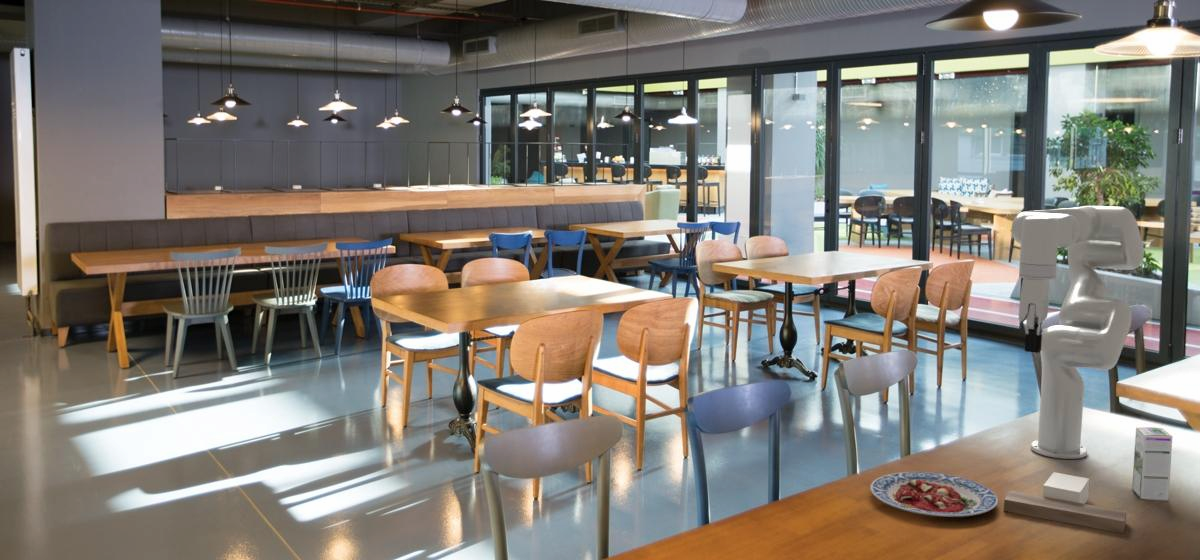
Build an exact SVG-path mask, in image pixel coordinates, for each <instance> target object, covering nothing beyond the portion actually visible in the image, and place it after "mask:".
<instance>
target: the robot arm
mask: <svg viewBox="0 0 1200 560" xmlns="http://www.w3.org/2000/svg"><path fill="white" fill-rule="evenodd" d="M1136 219H1137V218H1136V217H1135V215H1134V214H1133V212H1132V211H1131V210H1129V208H1126V207H1124V206H1109V205H1107V206H1106V205H1083V206H1082V205H1081V206H1077V207H1068V208H1066V207H1064V208H1054V209H1053V208H1052V209H1040V210H1039V209H1038V210H1028V211H1027V210H1026V211H1021V212H1020V213H1018V214H1017V215H1016V216H1015V217H1014V219H1013V220H1012V223H1011V228H1010V229H1011V235H1012V238H1013V239H1014V241H1015V242H1016V243H1018V244H1019V245H1020V250H1019V252H1020V254H1019V267H1018V268H1019V270H1018V277H1019V278H1020V279H1022V282H1021V289H1020V297H1019V298H1020V299H1019V300H1020V301H1019V308H1018V310H1019V311H1018V321H1019V322H1020V323H1022V322H1024V321H1025V320H1026V322H1025V324H1026V325H1025V326H1026V327H1025V338H1024V339H1025V340H1024V341H1025V342H1024V352H1026V353H1037V354H1038V353H1040V361H1041V382H1040V383H1041V385H1040V400H1039V401H1040V402H1039V417H1038V418H1039V419H1038V420H1039V421H1038V433H1037V434H1038V435H1037V439H1036V440H1033V441H1032V442H1031V443H1030V449H1031V450H1032V451H1033V452H1034V453H1036V454H1038V455H1042V456H1045V457H1049V458H1054V459H1061V460H1063V459H1064V460H1077V459H1082V458H1084V457H1086V456H1087V455H1088V450H1087V448H1086V447H1085V446H1083V445H1081V440H1082V439H1081V437H1082V425H1083V423H1082V422H1083V413H1084V412H1083V411H1084V410H1083V409H1084V394H1085V382H1084V379H1083V377H1082V375H1081V373H1080V372H1079V371H1078V369H1077V368H1085V369H1092V370H1098V371H1110V370H1112V369H1113V368H1114V367H1115V366H1116V365H1117V363H1118V361H1119V358H1120V356H1121V353H1122V350H1123V348H1124V345H1125V343H1126V340H1127V338H1128V335H1129V332H1130V329H1131V325H1132V320H1133V319H1132V316H1133V315H1132V309H1131V307H1130V305H1129V303H1128V302H1126V301H1125V300H1123V299H1119V298H1113V297H1107V294H1108V291H1109V290H1108V288H1109V287H1108V286H1107V284H1106V282H1105V280H1104V279H1103V278H1102V276H1101V275H1100V274H1099V273H1098V272H1097V271H1095V269H1094V268H1096V269H1097V268H1098V269H1109V270H1121V271H1132V270H1135V269H1137V268H1139V267H1140V266H1141V264H1142V263H1143V261H1144V254H1145V251H1144V243H1143V240H1142V236H1141V233H1140V229H1139V226H1138V225H1139V224H1138V222H1137V220H1136ZM1066 247H1067V262H1068V263H1067V265H1068V272H1069V277H1070V286H1069V289H1068V290H1067V293H1066V296H1065V298H1064V300H1063V303H1062V305H1061V308H1060V310H1059V313H1058V322H1059V323H1058V325H1056V324H1055V325H1050V326H1048V327H1046V328H1045V329H1044V330H1043V322H1044V321H1045V320H1046V319H1047V318H1048V314H1049V304H1050V291H1051V290H1050V289H1051V288H1050V286H1051V281H1052V280H1055V279H1057V275H1056V274H1057V265H1058V264H1057V260H1058V248H1066ZM1042 330H1043V331H1042Z"/></svg>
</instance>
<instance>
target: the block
mask: <svg viewBox="0 0 1200 560" xmlns="http://www.w3.org/2000/svg"><path fill="white" fill-rule="evenodd" d="M1042 487H1043V488H1042V496H1043V497H1049V498H1054V499H1060V500H1065V501H1071V502H1077V503H1082V504H1085V503H1086V504H1087V502H1088V500H1089V487H1090V478H1087V477H1082V476H1078V475H1076V476H1075V475H1073V474H1072V475H1070V474H1065V473H1062V472H1061V473H1060V472H1055V471H1054V472H1052V474H1051V475H1050V476H1049V477H1048V479H1047V480H1046V481H1045V482H1044V484H1043V485H1042Z"/></svg>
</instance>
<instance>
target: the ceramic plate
mask: <svg viewBox="0 0 1200 560" xmlns="http://www.w3.org/2000/svg"><path fill="white" fill-rule="evenodd" d="M870 491H871V493H872V495H873V496H874V497H875V498H876V499H878V500H879V501H881V502H882V503H885V504H886V505H888V506H891V507H893V508H896V509H899V510H902V511H906V512H910V513H914V514H918V515H923V516H932V517H942V518H943V517H945V518H951V517H952V518H961V517H971V516H977V515H982V514H985V513H987V512H990V511H991V510H994V509H995V507H996V506H997V505H998V501H999V499H998V496H997V495H996V494H995V493H994V492H993V490H991V489H989V488H988V487H986V486H985V485H983V484H980V483H978V482H976V481H973V480H970V479H967V478H964V477H960V476H955V475H951V474H946V473H938V472H937V473H936V472H928V471H904V472H895V473H889V474H885V475H882V476H880V477H878V478H875V479H874V480H873V481H872V483H870ZM893 493H894V494H895V497H896V498H895V500H896V501H895V500H894V498H893V496H892V495H893ZM898 502H899V503H898ZM901 503H903V504H906V505H910V504H911V506H913V507H915V508H916V509H915V508H910V507H907V506H904V505H901Z"/></svg>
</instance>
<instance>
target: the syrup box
mask: <svg viewBox="0 0 1200 560" xmlns="http://www.w3.org/2000/svg"><path fill="white" fill-rule="evenodd" d="M1134 438H1135V441H1134V454H1133V455H1134V456H1133V457H1134V458H1133V468H1132V469H1133V471H1132V491H1133V492H1134V493H1135V494H1136V495H1137V496H1138V497H1139V498H1140V499H1141V500H1148V501H1169V497H1170V496H1169V495H1170V486H1171V483H1170V482H1171V469H1172V468H1171V465H1172V452H1173V451H1172V448H1173V435H1172V434H1170V433H1169V432H1168V431H1166V430H1165V429H1164V428H1162V427H1161V428H1160V427H1153V426H1152V427H1148V426H1147V427H1144V426H1143V427H1136V428H1135V437H1134Z"/></svg>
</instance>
